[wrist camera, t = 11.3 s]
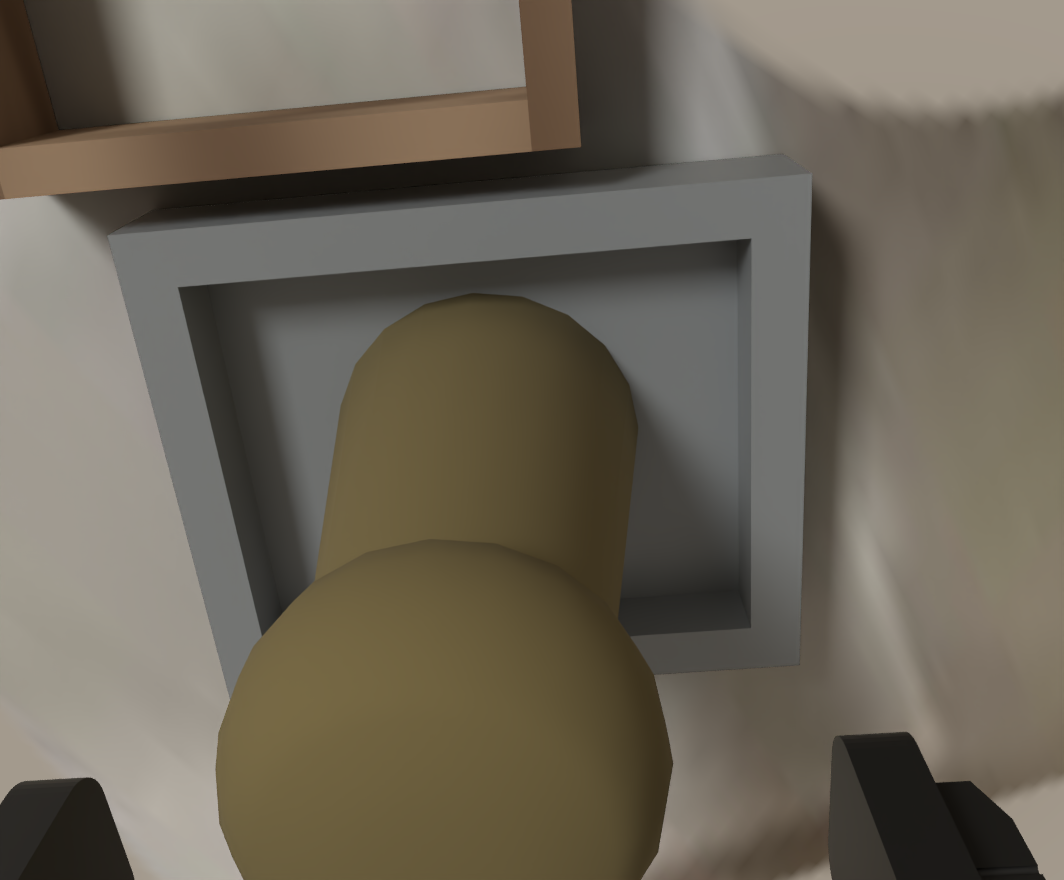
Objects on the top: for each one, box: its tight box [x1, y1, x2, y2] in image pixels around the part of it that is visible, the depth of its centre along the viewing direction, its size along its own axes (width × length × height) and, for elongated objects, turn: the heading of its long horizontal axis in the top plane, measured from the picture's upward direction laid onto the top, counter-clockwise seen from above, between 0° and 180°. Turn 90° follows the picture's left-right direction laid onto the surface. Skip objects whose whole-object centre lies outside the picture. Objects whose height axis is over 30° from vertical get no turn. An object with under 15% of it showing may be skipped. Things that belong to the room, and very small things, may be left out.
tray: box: [107, 154, 812, 699], centre depth 20 cm, size 12×10×2 cm
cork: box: [216, 293, 673, 880], centre depth 15 cm, size 6×6×11 cm
